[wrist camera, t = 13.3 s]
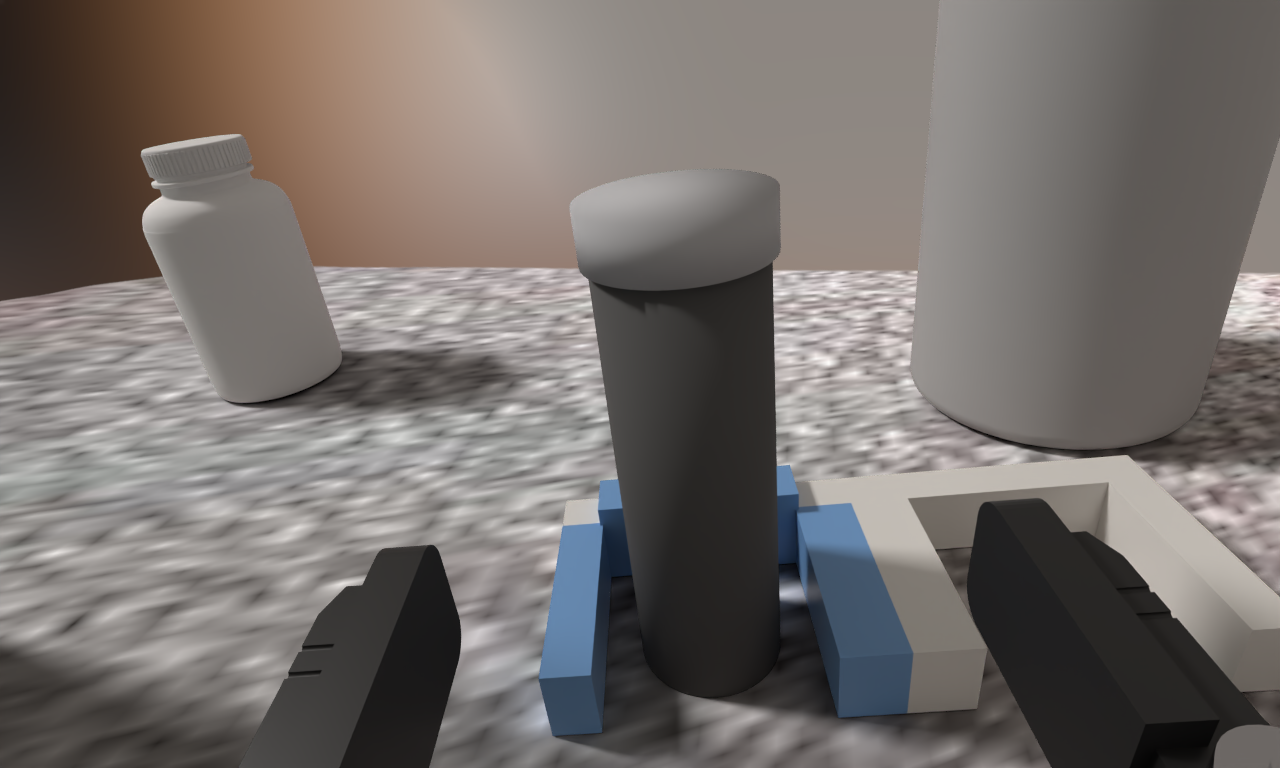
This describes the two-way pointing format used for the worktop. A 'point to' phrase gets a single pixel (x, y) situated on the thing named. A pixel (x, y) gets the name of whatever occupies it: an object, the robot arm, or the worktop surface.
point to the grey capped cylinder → (692, 411)
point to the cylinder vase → (1088, 210)
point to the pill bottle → (238, 270)
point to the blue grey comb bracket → (919, 581)
